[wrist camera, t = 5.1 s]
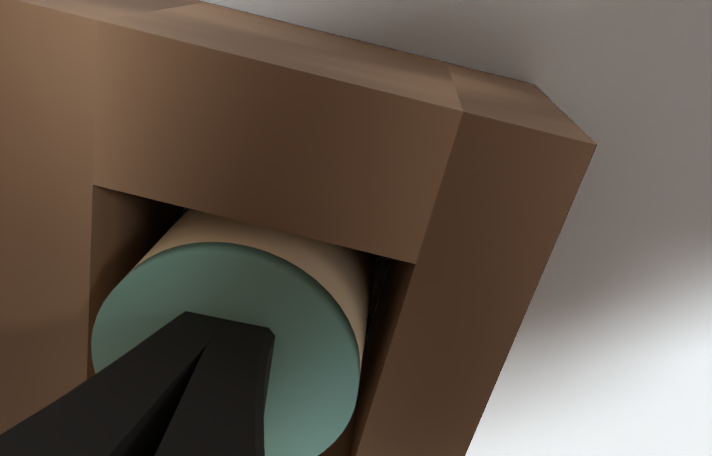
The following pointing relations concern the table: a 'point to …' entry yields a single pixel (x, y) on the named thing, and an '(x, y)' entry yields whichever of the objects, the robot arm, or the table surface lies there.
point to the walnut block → (274, 191)
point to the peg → (257, 315)
